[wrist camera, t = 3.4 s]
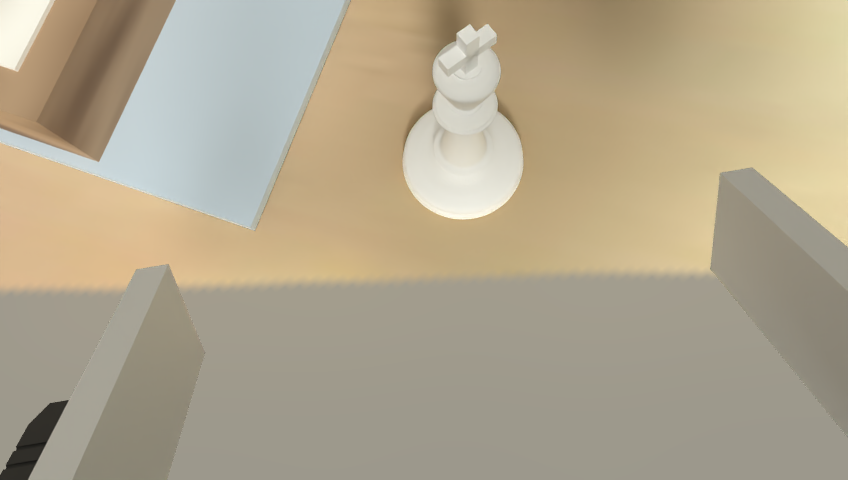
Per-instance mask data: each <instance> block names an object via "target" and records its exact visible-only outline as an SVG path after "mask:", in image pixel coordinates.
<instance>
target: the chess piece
mask: <svg viewBox="0 0 848 480" xmlns="http://www.w3.org/2000/svg"><path fill="white" fill-rule="evenodd" d="M496 41H497V34H496V33H495V32H494V31H493V29H492V28H491V27H490V26H489V25H488V24H486V25H485V26H483V27H482V28H480V29H479V30H478V31H475V30H474V28H473V27H472V26H471V25H470V24H469V25H468V26H466V27H465V28H463V29H462V30H460V31H459V32H458V33H457V41H454V42H452V43H450V44H448V45H447V46H445V47H444V48H443V49H442V50H441V51H440V52H439V53H438V55H437V56H436V58H435V60H434V63H433V69H432V75H433V80H434V83H435V85H436V87H437V91H436V93H435V95H434V98H433V109H431V110H430V111H428V112H427V113H426V114H424V115H423V116H422V117H421V118H420V119H419V120H418V121H417V122H416V123H415V125H414V126H413V128H412V129H411V131H410V133H409V135H408V137H407V140H406V143H405V147H404V152H403V172H404V177H405V180H406V183H407V185H408V187H409V189H410V191H411V192H412V194H413V195H414V196H415V198H416V199H417V200H418V201H419V202H420V203H421V204H422V205H423V206H425V207H426V208H427V209H429V210H431V211H432V212H434V213H436V214H438V215H441V216H444V217H447V218H452V219H473V218H478V217H482V216H485V215H487V214H490V213H492V212H494V211H495V210H497V209H498V208H500V207H501V206H502V205H504V204H505V203H506V202H507V201H508V200H509V199H510V197H511V196H512V195H513V193H514V192H515V190H516V189H517V187H518V185H519V182H520V180H521V176H522V172H523V151H522V145H521V141H520V138H519V136H518V134H517V132H516V130H515V128H514V127H513V125H512V124H511V123H510V121H509V120H508V119H507V118H506V117H505V116H504V115H502V114H501V113H500V112H498V111H497V109H498V101H497V96H496V94H495V92H494V90H495V89H496V87H497V85H498V83H499V80H500V76H501V66H500V62H499V59H498V57H497V55H496V54H495V52H494V51H493V50H492V49H491V48H490V47H491V46H493V45H494V44H496Z"/></svg>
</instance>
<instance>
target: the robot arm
mask: <svg viewBox="0 0 848 480" xmlns="http://www.w3.org/2000/svg"><path fill="white" fill-rule="evenodd" d="M710 269H711V271H712V272H713V273H714V274H715V276H716V277H717V278H718V279H719V280H720V282H721V283H722V284H723V285H724V287H725V288H726V289H727V290H728V291H729V293H730V294H731V295H732V296H733V298H734V299H735V300H736V301H737V302H738V304H739V305H740V306H741V307H742V309H743V310H744V311H745V312H746V314H747V315H748V316H749V317H750V318H751V319H752V321H753V322H754V323H755V325H756V326H757V327H758V328H759V329H760V331H761V332H762V333H763V334H764V336H765V337H766V338H767V339H768V340H769V342H770V343H771V344H772V345H773V347H774V348H775V349H776V350H777V351H778V353H779V354H780V355H781V356H782V358H783V359H784V360H785V361H786V363H787V364H788V365H789V366H790V367H791V369H792V370H793V371H794V372H795V374H797V376H798V377H799V378H800V380H801V381H802V382H803V383H804V385H805V386H806V387H807V388H808V389H809V391H810V392H811V393H812V394H813V396H814V397H815V398H816V399H817V400H818V402H819V403H820V404H821V405H822V407H823V408H824V409H825V410H826V412H827V413H828V414H829V415H830V416H831V418H832V419H833V420H834V421H835V422H836V424H837V425H838V426H839V427H840V429H841V430H842V431H843V432H844V434H845V435H846V436H847V437H848V247H847V246H846V245H844V244H843V243H842V242H841V241H840V240H838V239H837V238H836V237H835V236H834V235H832V234H831V233H830V232H829V231H828V230H826V229H825V228H824V227H823V226H822V225H821V224H819V223H818V222H817V221H816V220H815V219H813V218H812V217H811V216H810V215H809V214H807V213H806V212H805V211H804V210H803V209H801V208H800V207H799V206H798V205H797V204H795V203H794V202H793V201H792V200H791V199H789V198H788V197H787V196H786V195H785V194H783V193H782V192H781V191H780V190H779V189H777V188H776V187H775V186H774V185H773V184H771V183H770V182H769V181H768V180H767V179H765V178H764V177H763V176H762V175H761V174H759V173H758V172H757V171H756V170H755V169H753V168H747V169H741V170H735V171H729V172H723V173H720V179H719V189H718V199H717V208H716V218H715V228H714V238H713V247H712V257H711V267H710ZM204 354H205V351H204V349H203V347H202V344H201V342H200V339H199V337H198V335H197V332H196V330H195V327H194V325H193V322H192V320H191V317H190V315H189V313H188V310H187V308H186V305H185V303H184V300H183V298H182V296H181V293H180V291H179V288H178V286H177V284H176V281H175V279H174V276H173V274H172V271H171V269H170V267H169V264H167V265H161V266H155V267H149V268H143V269H137V270H136V271H135V273H134V275H133V277H132V279H131V281H130V283H129V285H128V287H127V289H126V291H125V293H124V294H123V297H122V299H121V300H120V302H119V304H118V306H117V308H116V310H115V312H114V314H113V316H112V318H111V320H110V322H109V324H108V326H107V327H106V330H105V331H104V333H103V335H102V337H101V339H100V341H99V343H98V345H97V347H96V349H95V351H94V353H93V355H92V357H91V358H90V360H89V362H88V364H87V366H86V368H85V370H84V372H83V374H82V376H81V378H80V380H79V382H78V384H77V386H76V388H75V389H74V391H73V393H72V395H71V397H70V399H69V400H67V401H61V402H55V403H50V404H49V405H48V406H47V407H46V408H45V409H44V410H43V411H42V412H41V413H40V414H39V415H38V416H37V417H36V418H35V419H34V420H33V421H32V422H31V423H30V424H29V425H28V427H27V428H26V430H25V432H24V434H23V435H22V437H21V439H20V441H19V443H18V444H17V446H16V448H17V450H16V451H14V452H13V453H12V455H11V457H10V459H9V461H8V462H7V464H6V469H5V470H3V471H2V473H1V475H0V480H167V478H168V475H169V472H170V468H171V465H172V462H173V458H174V455H175V452H176V448H177V445H178V441H179V438H180V435H181V431H182V428H183V425H184V421H185V418H186V415H187V411H188V408H189V405H190V401H191V398H192V395H193V391H194V388H195V384H196V381H197V378H198V375H199V371H200V368H201V365H202V361H203V358H204Z"/></svg>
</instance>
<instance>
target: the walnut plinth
mask: <svg viewBox="0 0 848 480" xmlns="http://www.w3.org/2000/svg"><path fill="white" fill-rule="evenodd" d="M175 1H176V0H0V128H1V129H4V130H7V131H10V132H12V133H15V134H18V135H21V136H24V137H27V138H30V139H33V140H36V141H39V142H42V143H45V144H47V145H50V146H53V147H56V148H59V149H62V150H65V151H68V152H71V153H74V154H77V155H80V156H82V157H85V158H88V159H91V160H94V161H97V162H99V161H100V159H101V157H102V155H103V153H104V151H105V148H106V146H107V144H108V142H109V140H110V138H111V136H112V134H113V132H114V130H115V127H116V125H117V123H118V121H119V119H120V117H121V115H122V113H123V111H124V109H125V106H126V104H127V102H128V100H129V98H130V96H131V94H132V92H133V90H134V87H135V85H136V83H137V81H138V79H139V77H140V75H141V73H142V71H143V69H144V66H145V64H146V62H147V60H148V58H149V56H150V54H151V52H152V50H153V48H154V45H155V43H156V41H157V39H158V37H159V35H160V33H161V31H162V29H163V26H164V24H165V22H166V20H167V18H168V16H169V14H170V12H171V10H172V8H173V5H174V3H175Z"/></svg>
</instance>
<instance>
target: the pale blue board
mask: <svg viewBox="0 0 848 480" xmlns="http://www.w3.org/2000/svg"><path fill="white" fill-rule="evenodd" d="M350 1H351V0H176V1H175V3H174V5H173V8H172V10H171V12H170V14H169V16H168V18H167V20H166V22H165V24H164V26H163V29H162V31H161V33H160V35H159V37H158V39H157V41H156V43H155V45H154V48H153V50H152V52H151V54H150V56H149V58H148V60H147V62H146V64H145V66H144V69H143V71H142V73H141V75H140V77H139V79H138V81H137V83H136V85H135V87H134V90H133V92H132V94H131V96H130V98H129V100H128V102H127V104H126V106H125V109H124V111H123V113H122V115H121V117H120V119H119V121H118V123H117V125H116V127H115V130H114V132H113V134H112V136H111V138H110V140H109V142H108V144H107V146H106V148H105V151H104V153H103V155H102V157H101V159H100V161H99V162H97V161H94V160H91V159H88V158H85V157H82V156H80V155H77V154H74V153H71V152H68V151H65V150H62V149H59V148H56V147H53V146H50V145H47V144H45V143H42V142H39V141H36V140H33V139H30V138H27V137H24V136H21V135H18V134H15V133H12V132H10V131H7V130H4V129H1V128H0V143H2V144H5V145H8V146H11V147H14V148H17V149H20V150H22V151H25V152H28V153H31V154H34V155H37V156H40V157H43V158H46V159H48V160H51V161H54V162H57V163H60V164H63V165H66V166H69V167H72V168H74V169H77V170H80V171H83V172H86V173H89V174H92V175H95V176H98V177H101V178H103V179H106V180H109V181H112V182H115V183H118V184H121V185H124V186H127V187H129V188H132V189H135V190H138V191H141V192H144V193H147V194H150V195H153V196H155V197H158V198H161V199H164V200H167V201H170V202H173V203H176V204H179V205H181V206H184V207H187V208H190V209H193V210H196V211H199V212H202V213H205V214H207V215H210V216H213V217H216V218H219V219H222V220H225V221H228V222H231V223H234V224H236V225H239V226H242V227H245V228H248V229H251V230H254V231H255V229H256V227H257V225H258V222H259V220H260V217H261V215H262V212H263V210H264V208H265V205H266V203H267V200H268V198H269V196H270V193H271V191H272V188H273V186H274V184H275V181H276V179H277V176H278V174H279V172H280V169H281V167H282V164H283V162H284V160H285V157H286V155H287V152H288V150H289V148H290V145H291V143H292V140H293V138H294V136H295V133H296V131H297V128H298V126H299V124H300V121H301V119H302V116H303V114H304V112H305V109H306V107H307V104H308V102H309V100H310V97H311V95H312V92H313V90H314V88H315V85H316V83H317V80H318V78H319V76H320V73H321V71H322V68H323V66H324V64H325V61H326V59H327V56H328V54H329V51H330V49H331V47H332V44H333V42H334V39H335V37H336V35H337V32H338V30H339V27H340V25H341V23H342V20H343V18H344V15H345V13H346V11H347V8H348V6H349V3H350Z"/></svg>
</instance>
